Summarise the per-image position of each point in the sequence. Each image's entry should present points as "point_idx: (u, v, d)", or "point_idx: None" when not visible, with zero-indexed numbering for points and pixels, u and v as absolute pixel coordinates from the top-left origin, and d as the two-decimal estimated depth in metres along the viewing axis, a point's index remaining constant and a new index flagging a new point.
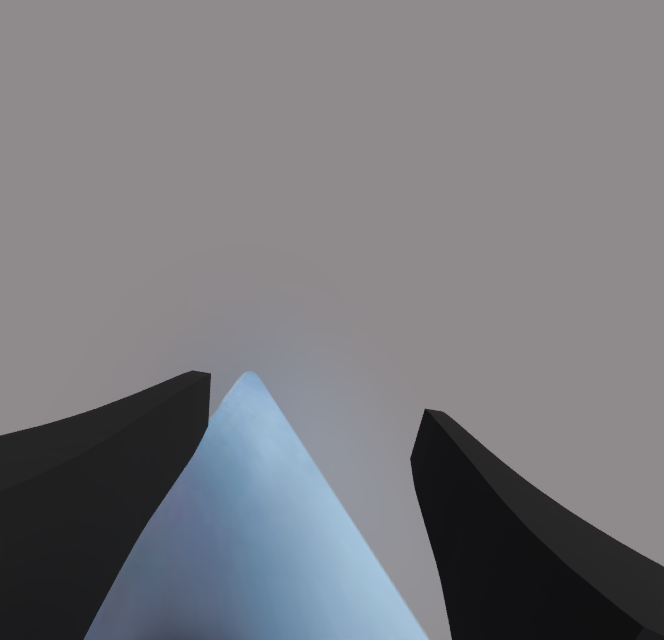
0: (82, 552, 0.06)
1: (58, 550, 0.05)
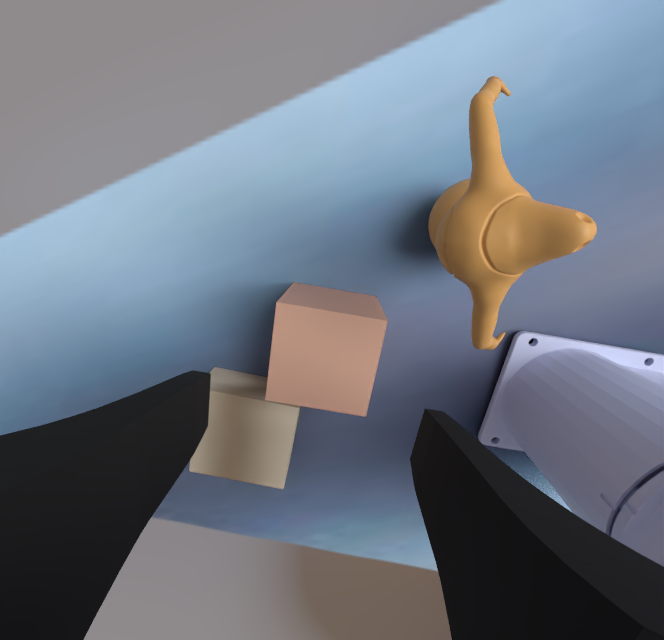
0: (82, 552, 0.06)
1: (58, 550, 0.05)
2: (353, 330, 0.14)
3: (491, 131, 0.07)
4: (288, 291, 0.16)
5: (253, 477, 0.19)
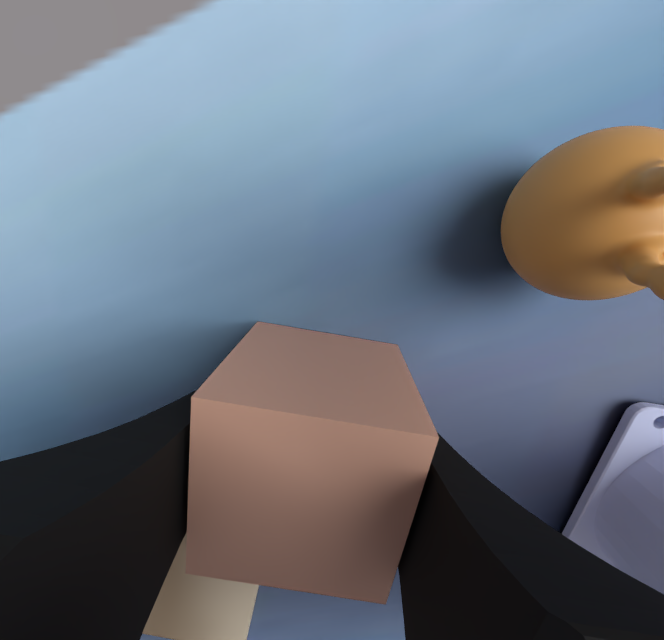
0: (139, 561, 0.06)
1: (122, 560, 0.05)
2: (362, 455, 0.06)
3: None
4: (236, 351, 0.08)
5: (194, 635, 0.12)
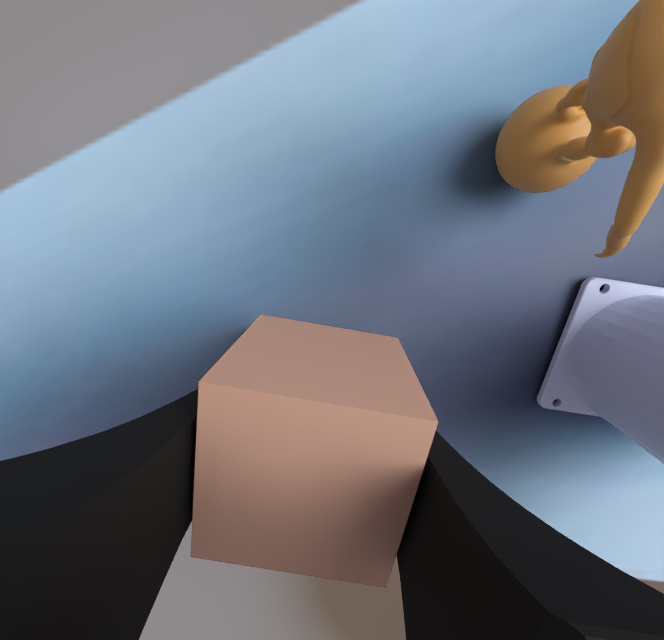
0: (138, 561, 0.06)
1: (121, 560, 0.05)
2: (363, 439, 0.07)
3: None
4: (241, 341, 0.09)
5: None
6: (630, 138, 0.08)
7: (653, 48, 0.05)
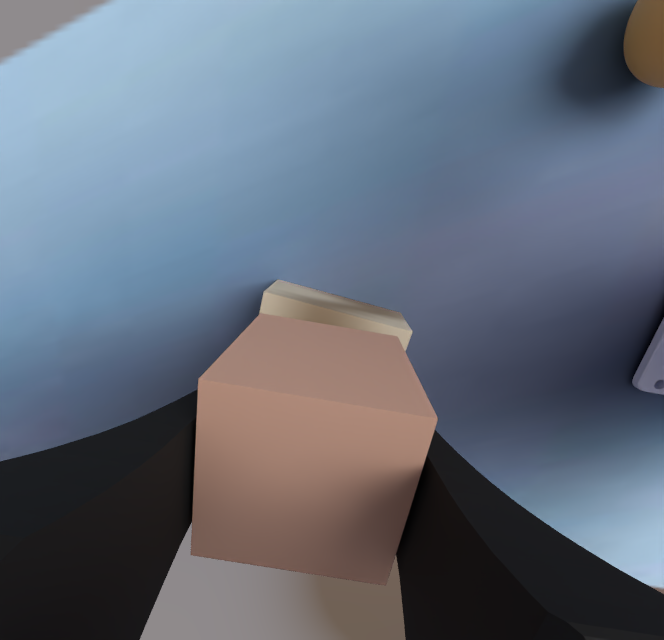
0: (139, 561, 0.06)
1: (122, 560, 0.05)
2: (363, 436, 0.07)
3: None
4: (240, 339, 0.09)
5: None
6: None
7: None
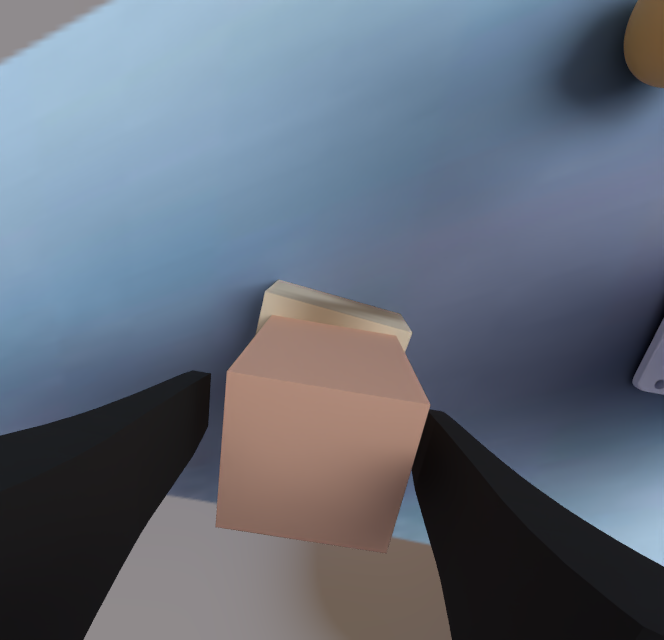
0: (82, 552, 0.06)
1: (58, 550, 0.05)
2: (367, 420, 0.08)
3: None
4: (257, 338, 0.10)
5: None
6: None
7: None
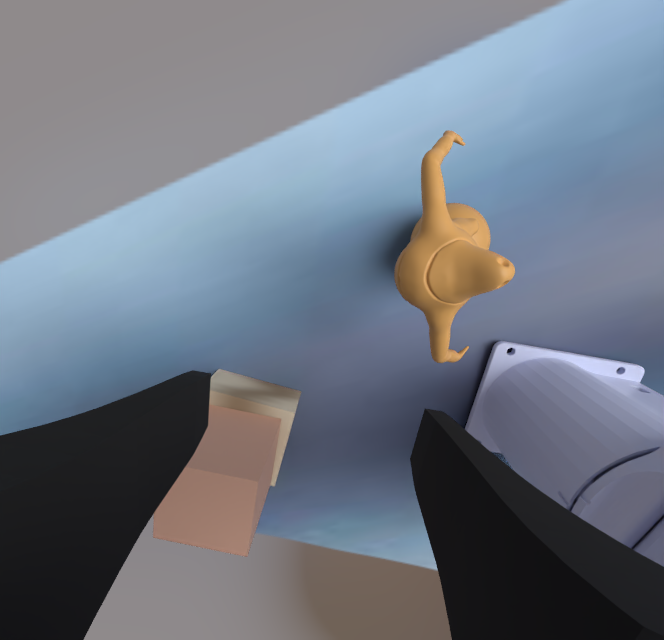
0: (82, 552, 0.06)
1: (58, 550, 0.05)
2: (227, 487, 0.15)
3: (436, 186, 0.08)
4: None
5: None
6: None
7: (407, 281, 0.08)
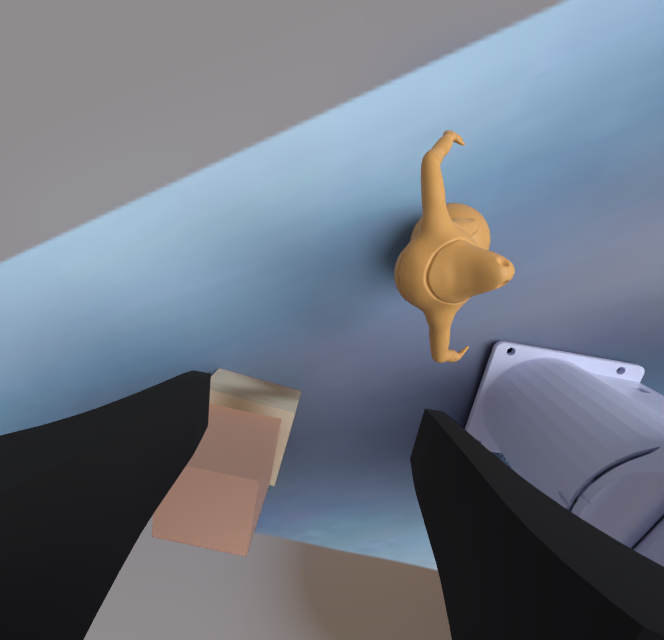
0: (82, 552, 0.06)
1: (58, 550, 0.05)
2: (228, 487, 0.15)
3: (436, 186, 0.08)
4: None
5: None
6: None
7: (407, 281, 0.08)
